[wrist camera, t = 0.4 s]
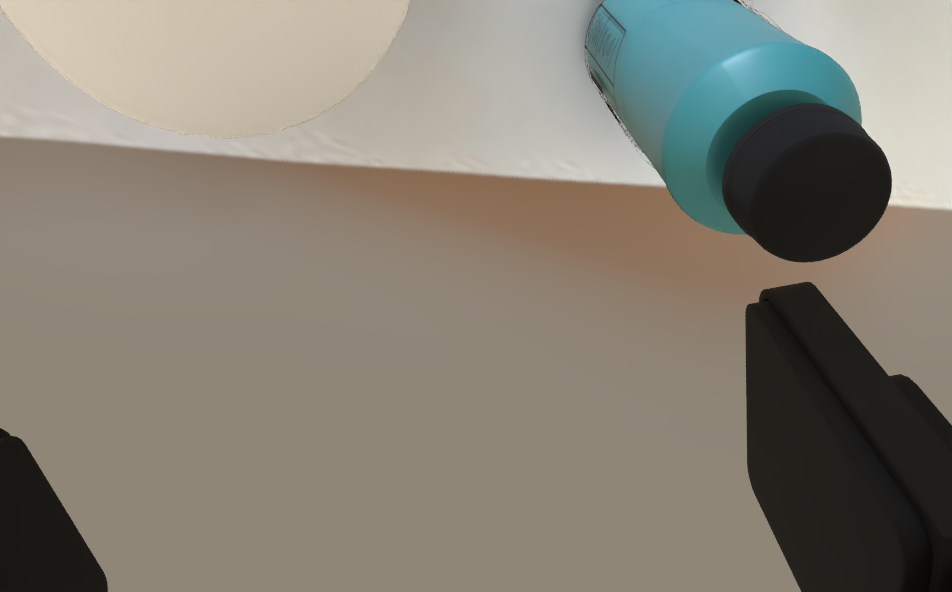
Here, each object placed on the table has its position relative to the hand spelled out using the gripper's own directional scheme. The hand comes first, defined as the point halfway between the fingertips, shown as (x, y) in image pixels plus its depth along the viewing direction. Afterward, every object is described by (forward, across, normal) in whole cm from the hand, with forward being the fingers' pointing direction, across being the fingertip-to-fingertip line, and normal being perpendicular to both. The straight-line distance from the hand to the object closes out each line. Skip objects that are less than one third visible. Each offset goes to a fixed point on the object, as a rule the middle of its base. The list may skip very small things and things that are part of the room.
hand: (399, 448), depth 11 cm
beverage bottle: (+31, -10, +4) cm, 33 cm away
